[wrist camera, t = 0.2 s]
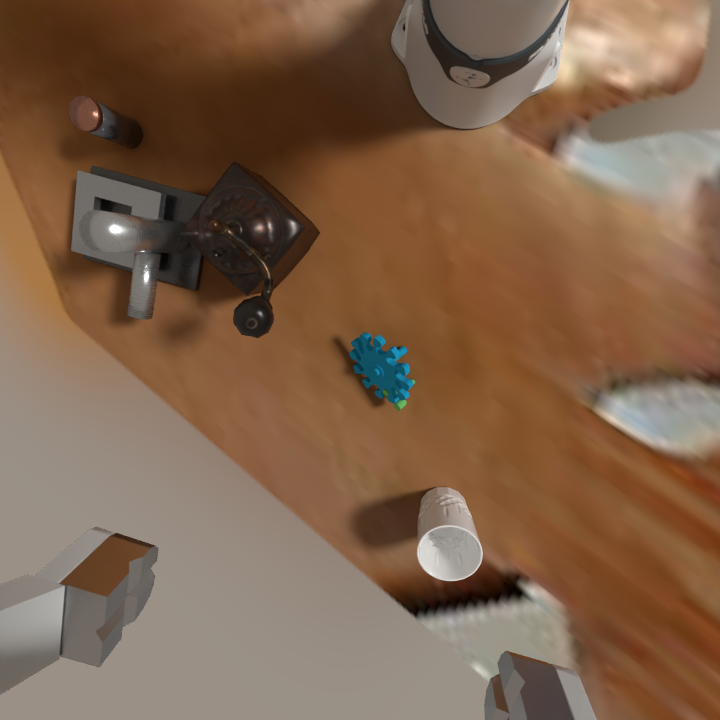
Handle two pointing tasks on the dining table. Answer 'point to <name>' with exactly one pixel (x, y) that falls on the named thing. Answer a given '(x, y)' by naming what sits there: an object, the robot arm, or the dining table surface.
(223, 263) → the dark brown coffee grinder
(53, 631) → the robot arm
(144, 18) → the dining table surface
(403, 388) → the gear
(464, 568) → the white cup
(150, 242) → the pipe elbow on plate
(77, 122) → the pin
